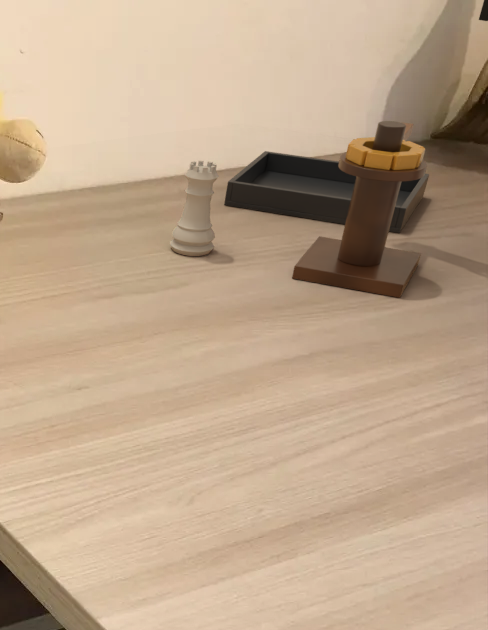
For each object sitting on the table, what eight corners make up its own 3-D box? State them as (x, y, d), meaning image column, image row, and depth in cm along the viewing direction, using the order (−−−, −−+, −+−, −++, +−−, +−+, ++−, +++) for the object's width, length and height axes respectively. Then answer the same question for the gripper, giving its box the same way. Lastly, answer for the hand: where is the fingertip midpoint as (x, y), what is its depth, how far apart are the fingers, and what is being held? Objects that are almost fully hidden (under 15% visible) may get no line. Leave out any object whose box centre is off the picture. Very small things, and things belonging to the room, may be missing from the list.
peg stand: (418, 265, 101) (459, 119, 93) (399, 298, 94) (442, 143, 86) (316, 248, 105) (347, 106, 96) (291, 278, 98) (322, 128, 89)
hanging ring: (413, 174, 90) (417, 159, 89) (340, 163, 92) (343, 149, 91) (438, 139, 100) (442, 125, 99) (371, 130, 102) (374, 117, 101)
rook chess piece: (222, 252, 103) (236, 166, 98) (189, 260, 101) (202, 173, 96) (192, 239, 106) (204, 155, 101) (159, 247, 104) (170, 161, 99)
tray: (423, 197, 119) (429, 173, 118) (399, 233, 109) (406, 208, 107) (261, 173, 126) (264, 150, 124) (224, 205, 115) (227, 181, 114)
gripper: (350, -305, 87) (297, -7, 100) (631, -324, 71) (523, 32, 84) (408, -299, 90) (349, -12, 104) (690, -317, 74) (576, 26, 88)
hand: (427, 9), depth 94 cm, fingers open, 13 cm apart
